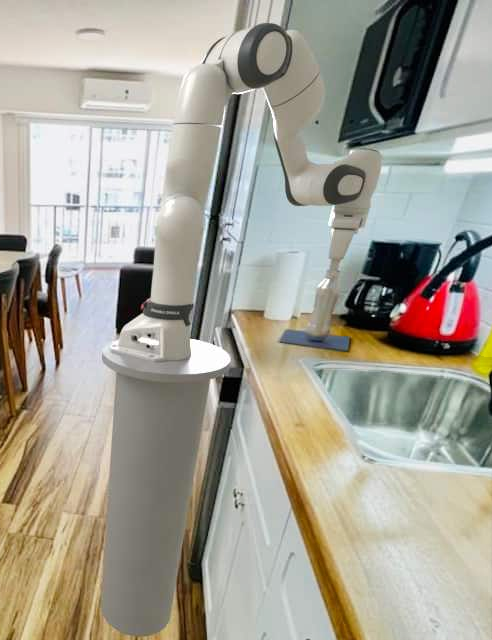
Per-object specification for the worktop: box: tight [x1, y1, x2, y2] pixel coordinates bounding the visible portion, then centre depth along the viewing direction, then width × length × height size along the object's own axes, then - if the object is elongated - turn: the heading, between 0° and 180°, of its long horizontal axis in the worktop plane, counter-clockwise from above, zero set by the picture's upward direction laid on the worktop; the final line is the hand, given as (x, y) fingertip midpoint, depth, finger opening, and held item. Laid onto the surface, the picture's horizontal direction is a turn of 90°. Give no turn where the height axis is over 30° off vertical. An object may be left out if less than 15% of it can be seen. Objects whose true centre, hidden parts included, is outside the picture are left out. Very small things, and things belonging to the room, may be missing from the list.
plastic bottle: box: [305, 269, 342, 341], centre depth 141 cm, size 6×7×20 cm
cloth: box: [279, 329, 351, 352], centre depth 146 cm, size 18×16×1 cm
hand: (332, 273), depth 136 cm, fingers open, 8 cm apart
